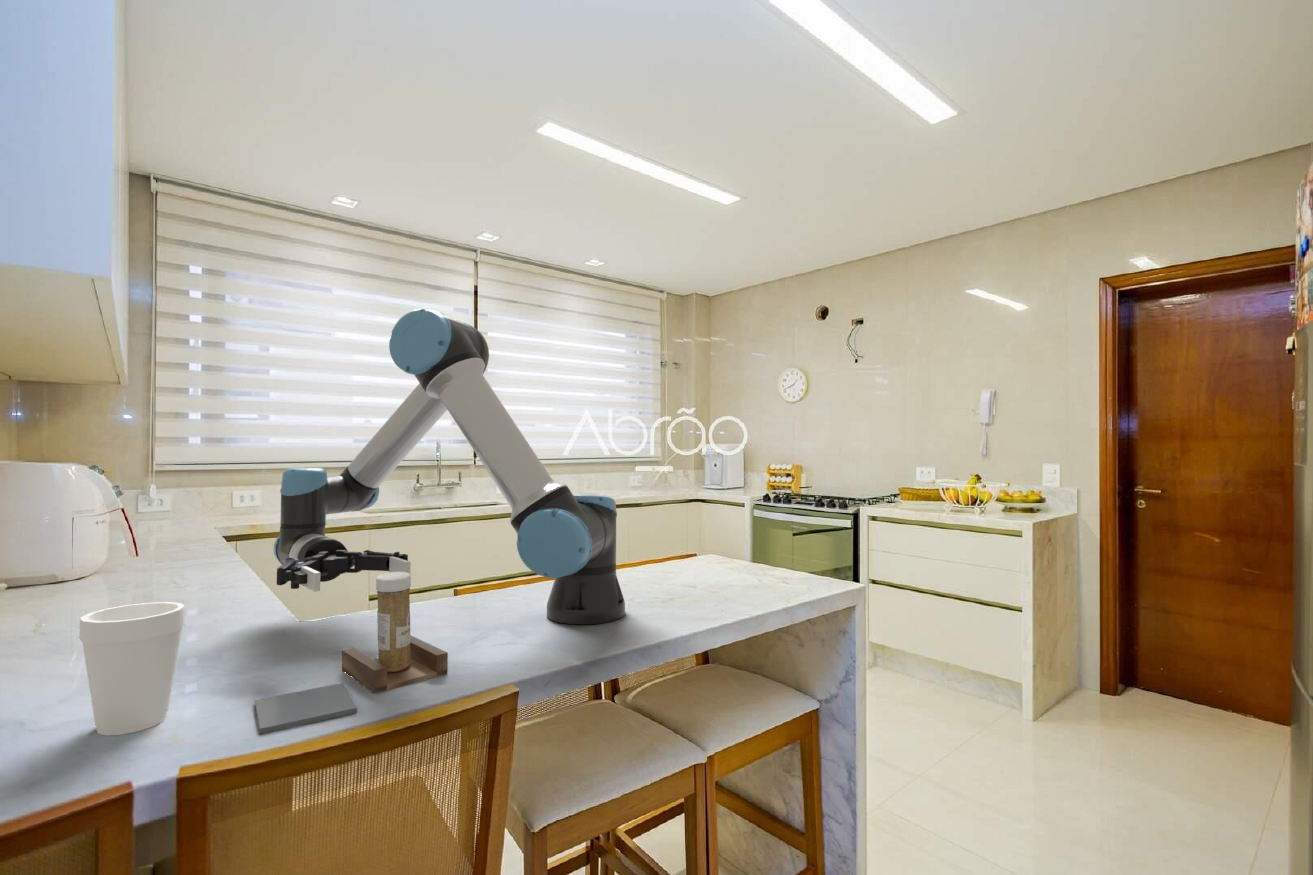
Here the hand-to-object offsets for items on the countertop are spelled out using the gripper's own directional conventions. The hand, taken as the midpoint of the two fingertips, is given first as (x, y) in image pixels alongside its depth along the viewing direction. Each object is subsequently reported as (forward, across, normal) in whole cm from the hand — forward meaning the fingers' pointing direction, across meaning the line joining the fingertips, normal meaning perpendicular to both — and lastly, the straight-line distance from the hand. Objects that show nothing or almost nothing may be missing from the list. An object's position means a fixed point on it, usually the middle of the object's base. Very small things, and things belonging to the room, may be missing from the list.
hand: (365, 575), depth 97 cm
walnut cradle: (+10, 0, -12) cm, 16 cm away
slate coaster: (+15, +13, -12) cm, 23 cm away
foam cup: (+5, +28, -13) cm, 31 cm away
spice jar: (+10, 0, -12) cm, 16 cm away
